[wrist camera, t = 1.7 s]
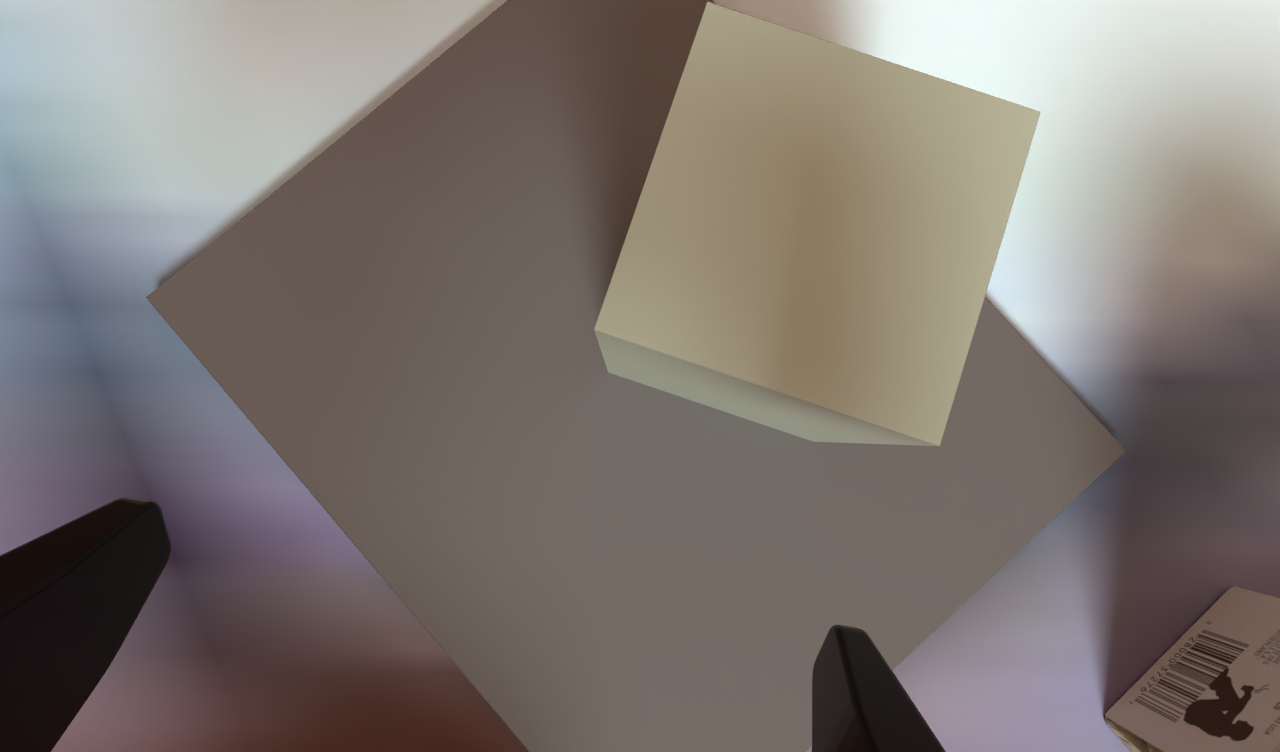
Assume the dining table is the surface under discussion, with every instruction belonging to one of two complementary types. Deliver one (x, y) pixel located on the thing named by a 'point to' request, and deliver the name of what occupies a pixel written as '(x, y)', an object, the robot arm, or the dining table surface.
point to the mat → (590, 411)
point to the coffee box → (1211, 684)
